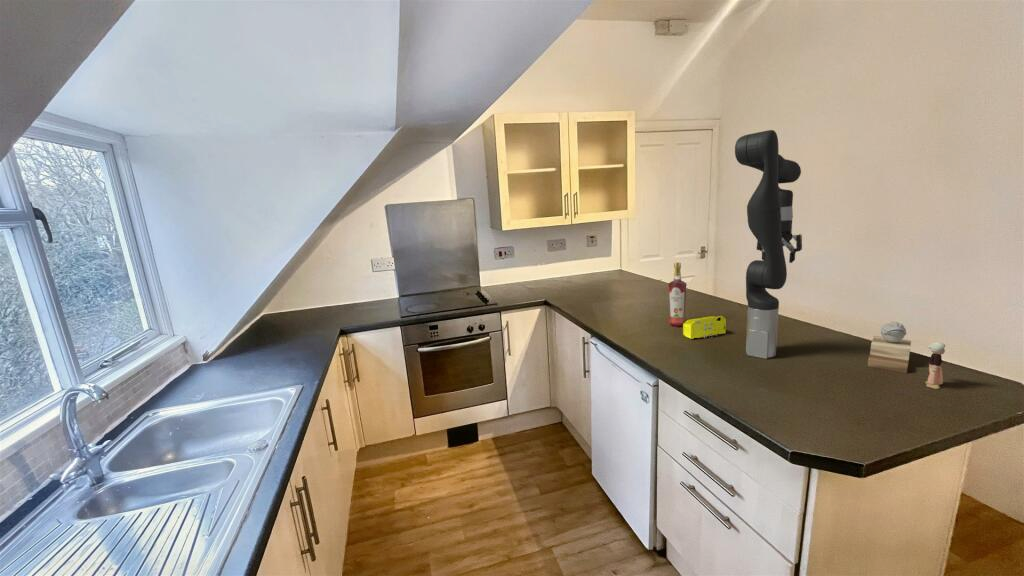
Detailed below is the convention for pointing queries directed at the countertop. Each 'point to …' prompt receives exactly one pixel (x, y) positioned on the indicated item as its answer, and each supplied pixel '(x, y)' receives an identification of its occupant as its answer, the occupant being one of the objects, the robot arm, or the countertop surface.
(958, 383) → the countertop surface
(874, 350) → the plinth
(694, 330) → the yellow toy chassis
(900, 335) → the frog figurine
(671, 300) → the liquor
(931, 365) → the grandmother figurine
